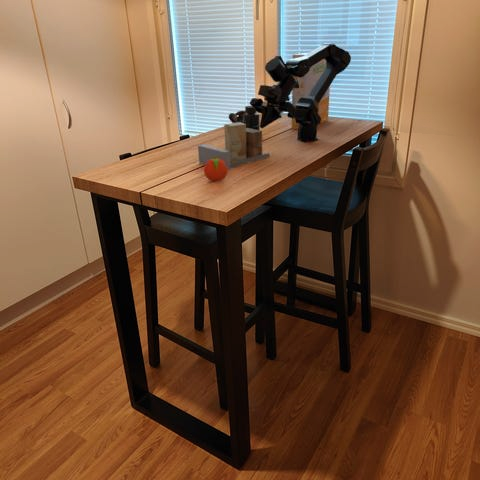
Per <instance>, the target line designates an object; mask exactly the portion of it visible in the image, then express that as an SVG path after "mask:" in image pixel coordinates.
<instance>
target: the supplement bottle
mask: <svg viewBox="0 0 480 480" xmlns="http://www.w3.org/2000/svg"><path fill="white" fill-rule="evenodd" d="M244 111H246V113H245V114H244V115H243V123H244V124H246V128H250V129H255V130H260V129H261V128H260V122H261V118H260V113H258V112H256V110H255V109H254V108H253V107H252V106H251V105H245V107H244ZM260 131H261V130H260Z"/></svg>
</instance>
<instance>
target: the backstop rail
mask: <svg viewBox="0 0 480 480" xmlns="http://www.w3.org/2000/svg"><path fill="white" fill-rule="evenodd" d="M197 151H198V161H199V162H198V163H199V164H202V165H205V164H206V163H207V161H209V160H210V159H212V158H219V159H221V160H223V161H224V162H225V164H226V166H227V171H230V170H231V169H232V168H235V167H239V166H242V165H246V164H248V163H252V162H256V161H260V160H262V159H266V158H269V157H271V152H265V153H262V154H261V155H258V156H254V157H251V158H247V157H246V159H244V160H240V161H236V162H230V151H227V150H225V149H222V148H218V147H215V146H211V145H207V144H203V143H202V144H198V145H197Z"/></svg>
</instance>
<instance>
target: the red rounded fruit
mask: <svg viewBox="0 0 480 480" xmlns="http://www.w3.org/2000/svg"><path fill="white" fill-rule="evenodd" d="M203 172H204V175H205V177H206V179H208V181H211V182H214V183H217V182H221V181H223V180H224V179H225V178H226V177H227V174H228V170H227V166H226V164H225V162H224V161H223V160H221V159H219V158H212V159H210V160H209V161H207V163H206V164H204V167H203Z"/></svg>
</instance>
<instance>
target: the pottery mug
mask: <svg viewBox="0 0 480 480" xmlns="http://www.w3.org/2000/svg"><path fill="white" fill-rule="evenodd" d="M245 113H246V111H245V110H238V111H236V112H235V113H234V112H231V113H229V114H228V120H229V121H230V122H231V123H239V122H241V123H243V115H244V114H245Z"/></svg>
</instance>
